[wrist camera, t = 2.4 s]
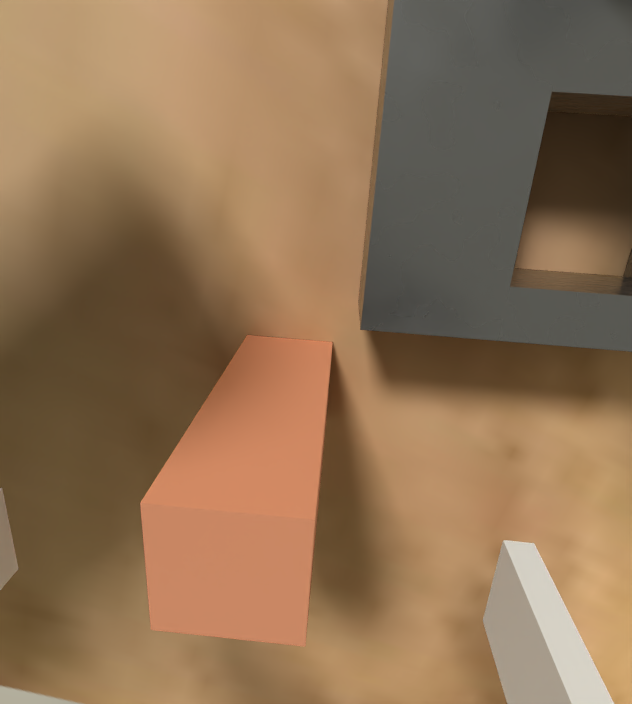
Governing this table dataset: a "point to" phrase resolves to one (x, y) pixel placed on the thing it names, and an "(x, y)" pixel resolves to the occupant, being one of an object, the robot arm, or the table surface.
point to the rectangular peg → (242, 500)
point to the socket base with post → (486, 168)
